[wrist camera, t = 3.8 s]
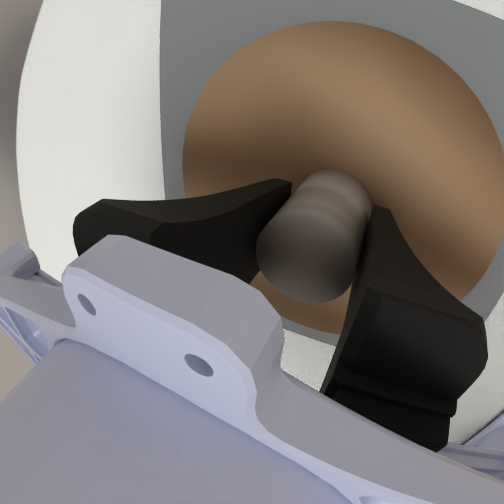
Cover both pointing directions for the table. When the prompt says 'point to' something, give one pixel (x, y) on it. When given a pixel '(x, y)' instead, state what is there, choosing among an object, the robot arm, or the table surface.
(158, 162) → the table surface
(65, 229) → the table surface
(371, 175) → the lid
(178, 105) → the mat
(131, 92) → the table surface
